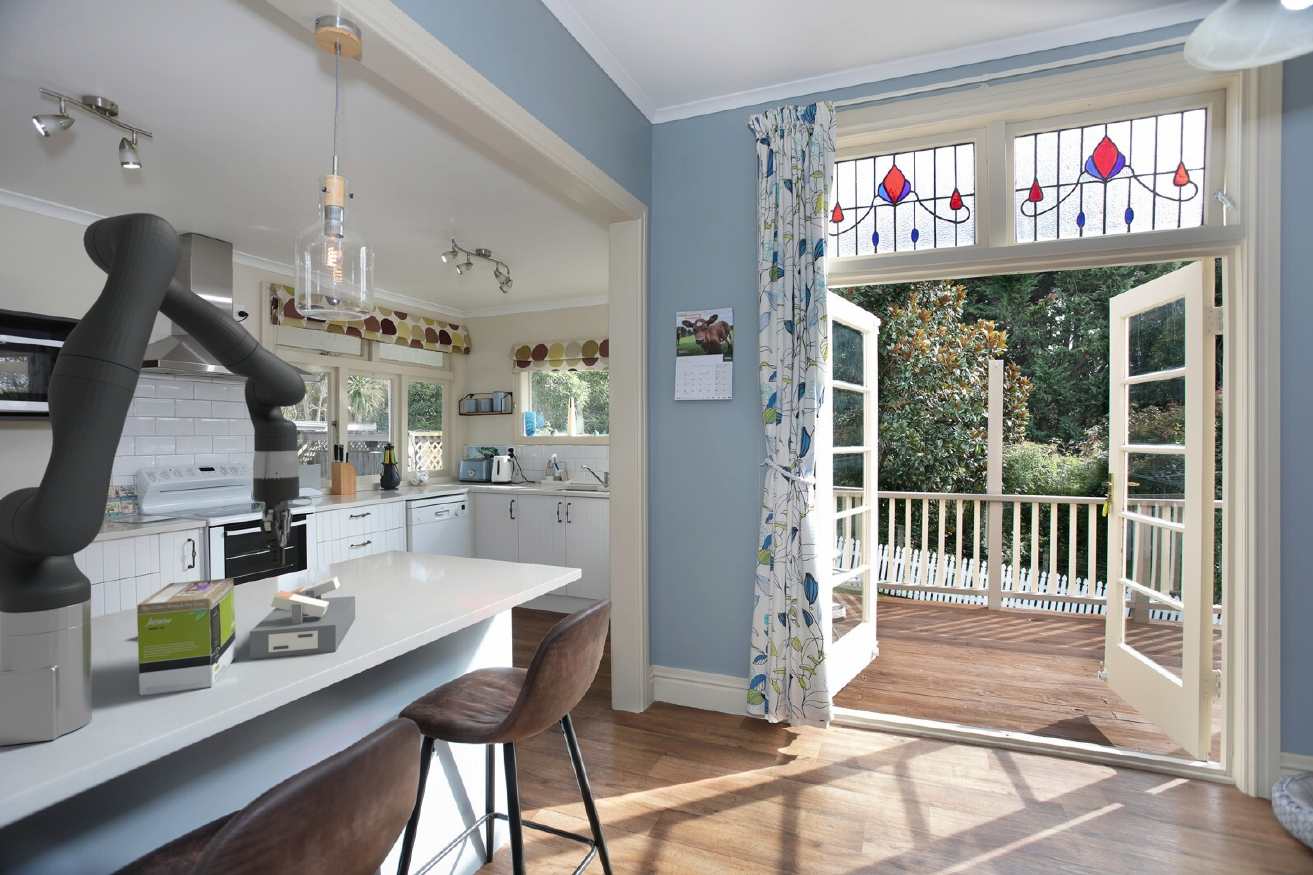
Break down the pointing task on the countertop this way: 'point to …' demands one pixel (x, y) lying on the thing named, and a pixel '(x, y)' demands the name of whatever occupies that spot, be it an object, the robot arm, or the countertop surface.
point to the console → (302, 629)
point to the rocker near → (308, 604)
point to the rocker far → (319, 587)
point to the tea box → (186, 636)
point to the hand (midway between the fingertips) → (277, 566)
